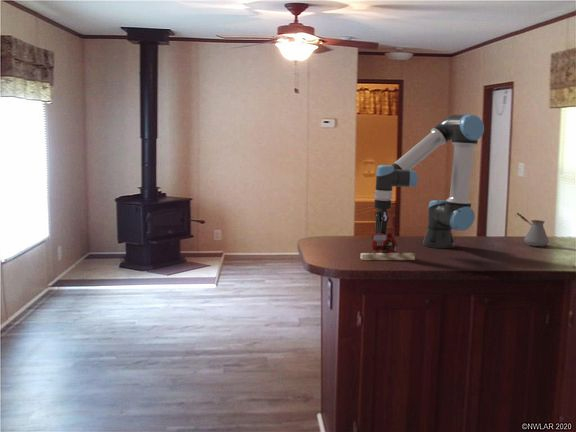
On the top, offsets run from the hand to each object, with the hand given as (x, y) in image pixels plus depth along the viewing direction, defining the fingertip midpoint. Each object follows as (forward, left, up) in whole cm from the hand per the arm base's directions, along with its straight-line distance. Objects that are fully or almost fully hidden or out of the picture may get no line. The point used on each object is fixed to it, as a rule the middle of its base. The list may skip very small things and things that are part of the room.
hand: (379, 250), depth 273 cm
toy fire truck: (-1, +4, -2) cm, 4 cm away
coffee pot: (-88, -24, -2) cm, 91 cm away
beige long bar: (-1, +10, -2) cm, 10 cm away
